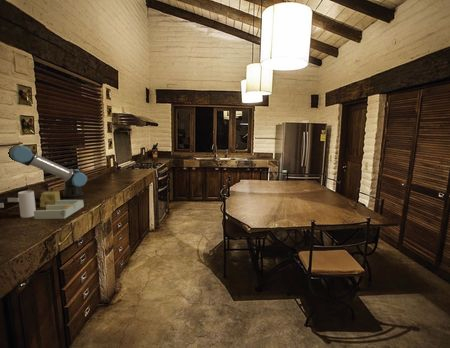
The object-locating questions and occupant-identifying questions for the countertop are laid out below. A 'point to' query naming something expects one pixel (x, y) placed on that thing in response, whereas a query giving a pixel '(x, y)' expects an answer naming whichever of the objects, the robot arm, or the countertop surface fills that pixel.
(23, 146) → the robot arm
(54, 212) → the tray
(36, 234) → the countertop surface
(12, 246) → the countertop surface
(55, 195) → the cheese
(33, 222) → the countertop surface
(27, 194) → the cup
